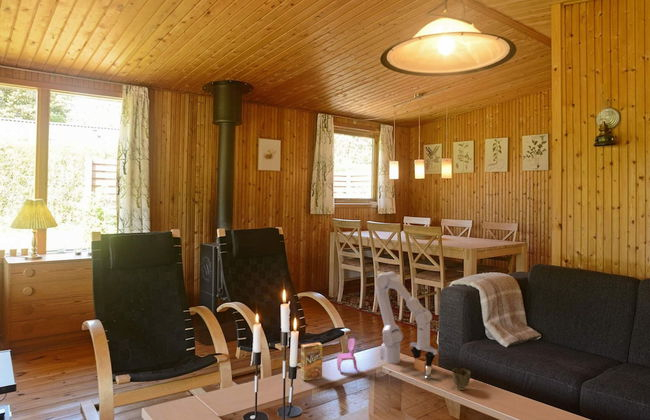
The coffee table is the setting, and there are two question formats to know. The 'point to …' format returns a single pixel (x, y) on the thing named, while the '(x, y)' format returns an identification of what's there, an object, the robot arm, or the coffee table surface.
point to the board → (435, 374)
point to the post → (428, 373)
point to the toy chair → (348, 355)
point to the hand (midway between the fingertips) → (423, 365)
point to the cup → (461, 378)
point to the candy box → (311, 361)
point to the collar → (420, 364)
